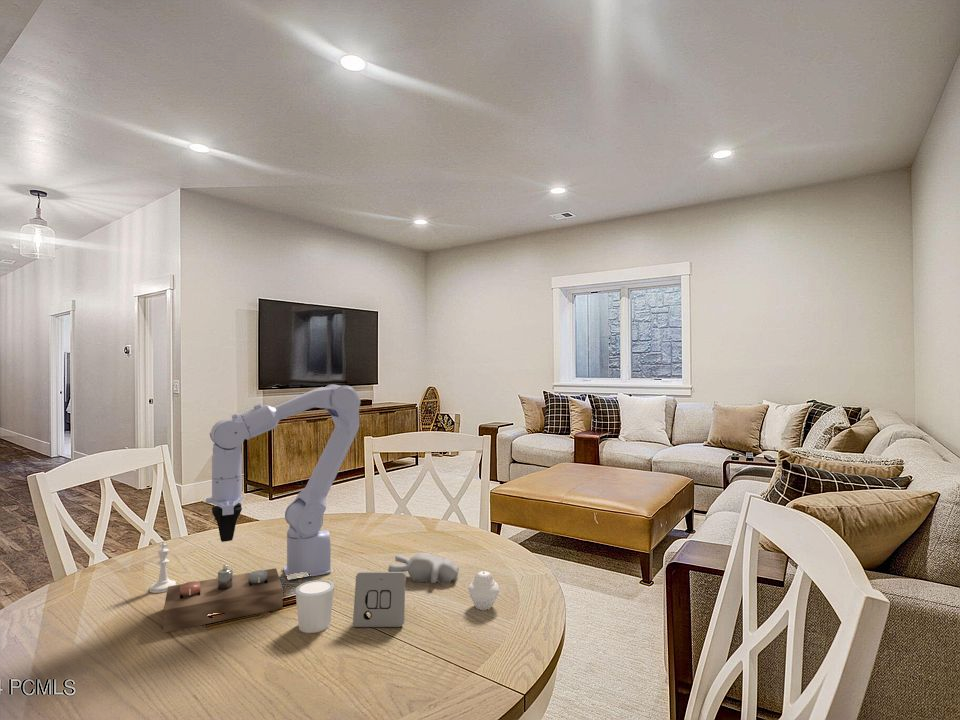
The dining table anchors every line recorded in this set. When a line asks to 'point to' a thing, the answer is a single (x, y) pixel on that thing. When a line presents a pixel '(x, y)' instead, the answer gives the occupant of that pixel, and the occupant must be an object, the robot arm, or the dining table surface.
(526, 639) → the dining table surface
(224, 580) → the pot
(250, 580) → the knob grey
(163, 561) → the chess piece
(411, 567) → the bunny figurine
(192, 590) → the knob red
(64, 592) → the dining table surface
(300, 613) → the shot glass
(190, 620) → the mount
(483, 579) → the white owl figurine
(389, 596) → the electrical switch
